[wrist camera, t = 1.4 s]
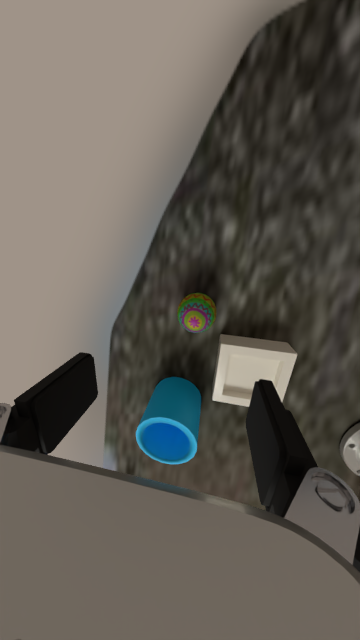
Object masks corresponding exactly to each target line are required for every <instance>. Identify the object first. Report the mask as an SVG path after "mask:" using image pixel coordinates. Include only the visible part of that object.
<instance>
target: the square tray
mask: <svg viewBox="0 0 360 640" xmlns="http://www.w3.org/2000/svg"><path fill="white" fill-rule="evenodd" d="M296 357H297V353H296V352H295V351H294V350H293V348H292V347H291V346H290V345H289V344H288V343H287V342H279V341H271V340H264V339H256V338H248V337H240V336H232V335H224V334H220V340H219V347H218V353H217V360H216V367H215V373H214V380H213V394H212V400H214V401H220V402H225V403H231V404H236V405H242V406H248V407H249V405H250V401H251V397H252V392H253V388H254V384H255V381H259V379H264V380H271V381H272V382H273V384H274V386H275V389H276V391H277V393H278V395H279V397H280V399H281V402H282V401H283V398H284V395H285V392H286V388H287V385H288V382H289V379H290V376H291V373H292V370H293V366H294V363H295V360H296Z"/></svg>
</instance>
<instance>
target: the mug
mask: <svg viewBox="0 0 360 640" xmlns="http://www.w3.org/2000/svg"><path fill="white" fill-rule="evenodd" d="M200 409H201V395H200V392H199V390H198V389H197V387H196V386H195V385H194V384H193V383H191V382H190V381H188V380H186V379H183V378H180V377H170V378H165V379H164V380H162V381H160V382H159V383H158V384H157V386H156V388H155V390H154V392H153V394H152V397H151V399H150V401H149V403H148V406H147V408H146V410H145V412H144V414H143V417H142V419H141V421H140V423H139V426H138V428H137V431H136V440H137V442H138V444H139V446H140V448H141V449H142V450H143V451H144V452H145V454H147V455H148V456H150V457H151V458H153V459H154V460H157V461H159V462H162V463H167V464H181V463H184V462H187V461H189V460H190V459H191V458H193V457H194V455H195V453H196V451H197V442H198V431H199V420H200Z"/></svg>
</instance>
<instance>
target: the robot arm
mask: <svg viewBox="0 0 360 640" xmlns="http://www.w3.org/2000/svg"><path fill="white" fill-rule="evenodd" d="M97 395H98V390H97V382H96V373H95V364H94V358H93V357H92V355H91V354H88V353H79V354H77V355H76V356H74V357H73V358H72V359H70V360H69V361H67V362H66V363H65V364H64V365H62V366H60V367H59V368H58V369H56V370H55V371H54V372H52V373H51V374H49V375H48V376H47V377H45V378H44V379H42V380H41V381H40V382H38V383H37V384H35V385H34V386H33V387H31V388H30V389H29V390H27V391H26V392H25V393H23V394H22V395H20V396H19V397H17V398H16V399H15V400H14V402H15V405H14V406H13V407H11V406H10V405H9V404H5V403H0V640H360V502H359V500H358V498H357V496H356V495H355V493H354V492H353V490H352V489H351V488H350V487H349V486H348V485H347V484H346V483H345V482H344V481H343V480H342V479H341V478H339V477H338V476H337V475H335V474H334V473H332V472H330V471H328V470H326V469H323V468H318V466H317V464H316V462H315V460H314V458H313V456H312V454H311V452H310V450H309V448H308V446H307V444H306V442H305V440H304V438H303V436H302V434H301V432H300V430H299V427H298V425H297V423H296V421H295V419H294V417H293V415H292V414H291V412H290V411H289V410H285V408H284V406H283V404H282V402H281V399H280V397H279V395H278V393H277V391H276V389H275V386H274V384H273V382H272V381H271V380H264V379H259V381H255V384H254V388H253V392H252V397H251V401H250V405H249V410H248V414H247V418H246V429H247V434H248V439H249V445H250V450H251V455H252V461H253V466H254V471H255V476H256V482H257V487H258V492H259V498H260V502H261V504H262V505H264V506H265V507H266V511H265V510H262V509H259V508H256V507H252V506H249V505H246V504H242V503H239V502H235V501H231V500H228V499H224V498H220V497H216V496H213V495H209V494H205V493H201V492H197V491H193V490H189V489H185V488H181V487H177V486H173V485H169V484H165V483H161V482H157V481H153V480H149V479H145V478H141V477H137V476H133V475H129V474H125V473H120V472H116V471H112V470H108V469H104V468H100V467H96V466H92V465H87V464H83V463H79V462H74V461H70V460H66V459H62V458H57V457H53V456H49V455H47V454H48V453H51V452H52V451H53V450H54V449H55V448H56V446H57V445H58V444H59V443H60V442H61V440H62V439H63V438H64V437H65V436H66V434H67V433H68V432H69V430H70V429H71V428H72V427H73V426H74V425H75V423H76V422H77V421H78V420H79V419H80V417H81V416H82V415H83V414H84V413H85V411H86V410H87V409H88V408H89V406H90V405H91V404H92V403H93V402H94V400H95V399H96V398H97ZM340 454H341V456H342V458H343V460H344V462H345V463H346V465H347V466H348V467H349V468H350V470H351V471H353V472H354V473H355V474H357V475H359V476H360V423H358V424H356V425H355V426H353V427H352V428H351V429H349V430H348V431H347V433H346V434H345V435H344V437H343V438H342V440H341V443H340Z"/></svg>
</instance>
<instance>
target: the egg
mask: <svg viewBox="0 0 360 640" xmlns="http://www.w3.org/2000/svg"><path fill="white" fill-rule="evenodd" d="M177 315H178V320H179V322H180V324H181V325H182V327H183V328H184V329H186V330H187V331H189V332H193V333H200V332H203V331H206V330H207V329H209V328H210V327H211V326H212V324H213V323H214V321H215V318H216V306H215V304H214V302H213V300H212V299H211V298H210V297H209V296H207V295H205V294H202V293H192V294H189V295H188V296H186V297H185V298H184V299H183V300H182V301H181V302H180V304H179V307H178V312H177Z"/></svg>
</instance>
